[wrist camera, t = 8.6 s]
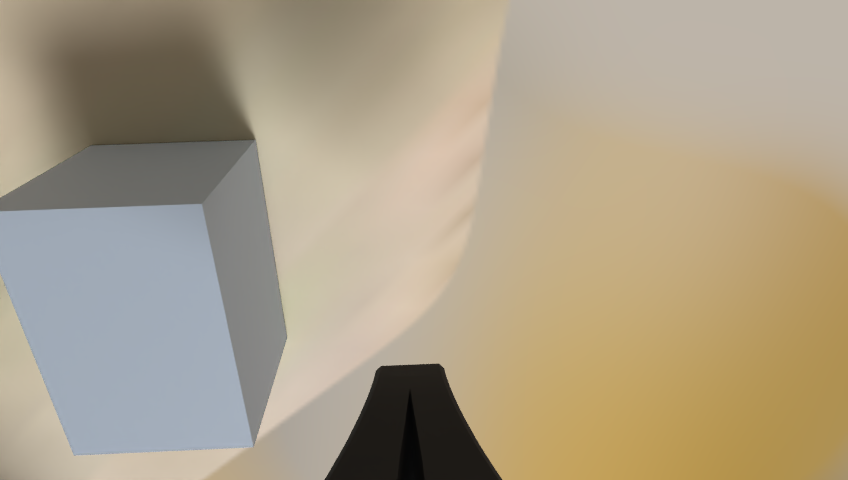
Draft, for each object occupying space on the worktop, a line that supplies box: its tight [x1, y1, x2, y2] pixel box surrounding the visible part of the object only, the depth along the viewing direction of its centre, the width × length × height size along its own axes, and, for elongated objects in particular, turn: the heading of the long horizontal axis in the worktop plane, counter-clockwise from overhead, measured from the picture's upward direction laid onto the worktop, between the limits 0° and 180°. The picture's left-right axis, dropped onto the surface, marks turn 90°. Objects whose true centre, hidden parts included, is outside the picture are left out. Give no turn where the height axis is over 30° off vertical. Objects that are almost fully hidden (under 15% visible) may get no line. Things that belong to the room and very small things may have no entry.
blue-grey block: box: [0, 140, 287, 455], centre depth 17 cm, size 7×5×5 cm
